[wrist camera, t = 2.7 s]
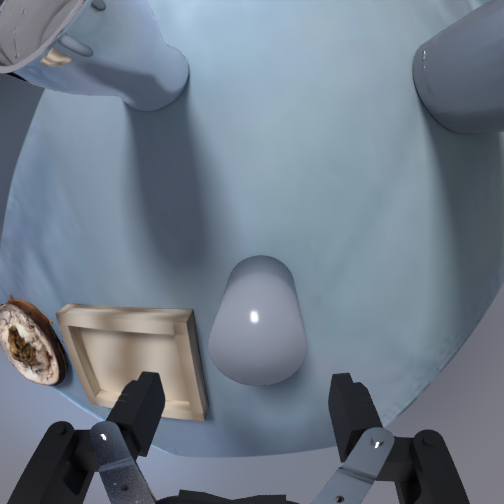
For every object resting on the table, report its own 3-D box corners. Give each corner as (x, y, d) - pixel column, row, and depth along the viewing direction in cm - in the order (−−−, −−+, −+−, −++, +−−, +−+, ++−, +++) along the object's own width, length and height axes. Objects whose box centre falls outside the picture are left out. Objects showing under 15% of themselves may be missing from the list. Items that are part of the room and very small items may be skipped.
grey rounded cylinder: (294, 254, 24) (309, 304, 15) (294, 315, 25) (304, 384, 17) (225, 256, 24) (202, 306, 15) (230, 317, 25) (213, 385, 17)
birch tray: (192, 309, 25) (186, 322, 23) (208, 405, 29) (204, 421, 26) (68, 303, 26) (55, 313, 24) (98, 391, 30) (90, 403, 27)
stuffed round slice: (94, 394, 31) (80, 415, 27) (22, 375, 32) (8, 390, 28) (56, 288, 26) (33, 303, 22) (-13, 285, 27) (-33, 297, 24)
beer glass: (188, 116, 21) (75, 56, 7) (111, 118, 21) (-30, 94, 7) (200, 38, 19) (126, -76, 5) (123, 45, 19) (11, -26, 5)
